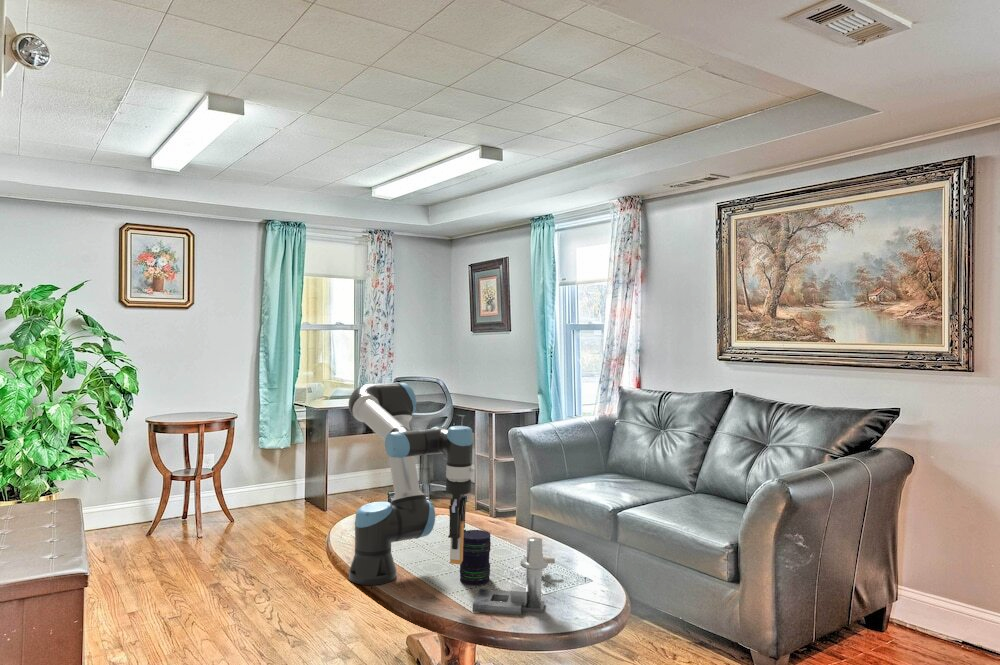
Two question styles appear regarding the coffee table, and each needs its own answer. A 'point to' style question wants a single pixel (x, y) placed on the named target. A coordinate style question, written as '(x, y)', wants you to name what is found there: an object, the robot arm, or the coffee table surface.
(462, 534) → the tan rectangular block
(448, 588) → the coffee table surface
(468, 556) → the storage jar
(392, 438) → the robot arm
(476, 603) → the rosette node
